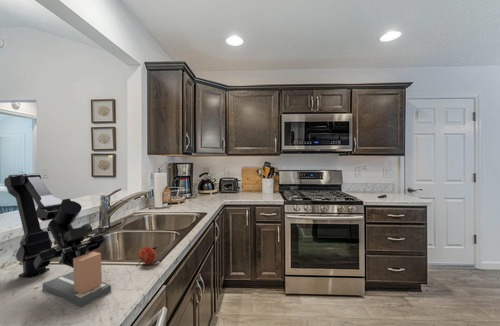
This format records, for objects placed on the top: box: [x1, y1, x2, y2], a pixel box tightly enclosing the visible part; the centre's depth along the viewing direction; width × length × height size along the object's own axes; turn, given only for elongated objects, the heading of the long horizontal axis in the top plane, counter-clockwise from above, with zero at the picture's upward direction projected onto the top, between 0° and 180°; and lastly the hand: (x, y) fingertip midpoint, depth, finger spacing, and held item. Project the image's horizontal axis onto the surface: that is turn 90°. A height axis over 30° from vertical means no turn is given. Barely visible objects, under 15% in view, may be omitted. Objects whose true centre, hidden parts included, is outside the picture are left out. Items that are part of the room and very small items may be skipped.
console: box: [41, 271, 112, 308], centre depth 77 cm, size 22×9×2 cm, turn 64°
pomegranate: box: [135, 246, 158, 267], centre depth 96 cm, size 7×7×10 cm
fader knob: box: [73, 251, 103, 294], centre depth 74 cm, size 4×6×10 cm, turn 154°
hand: (83, 271), depth 75 cm, fingers closed
